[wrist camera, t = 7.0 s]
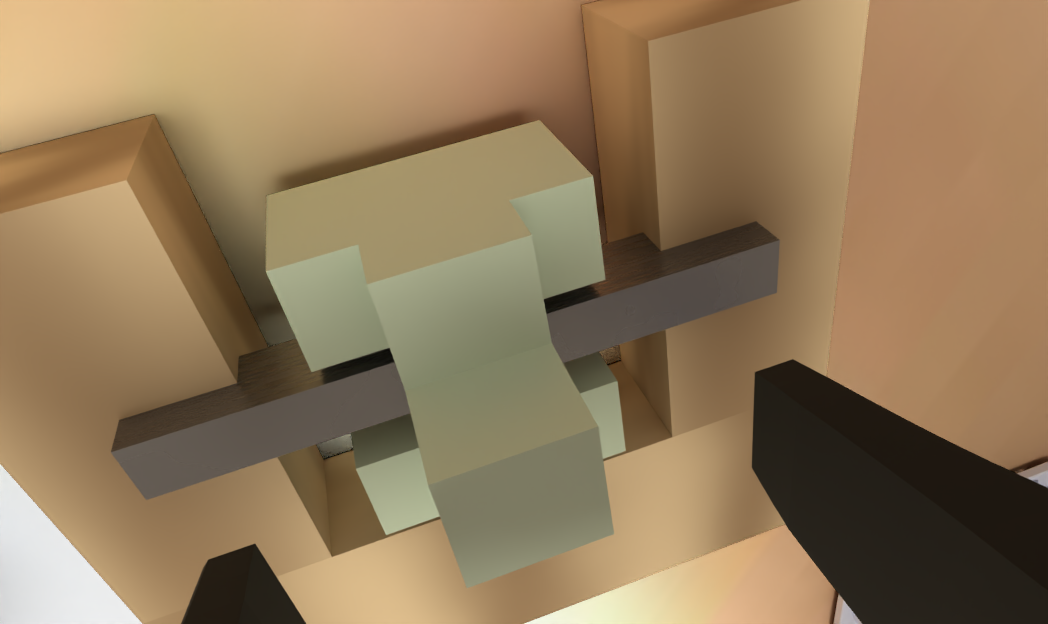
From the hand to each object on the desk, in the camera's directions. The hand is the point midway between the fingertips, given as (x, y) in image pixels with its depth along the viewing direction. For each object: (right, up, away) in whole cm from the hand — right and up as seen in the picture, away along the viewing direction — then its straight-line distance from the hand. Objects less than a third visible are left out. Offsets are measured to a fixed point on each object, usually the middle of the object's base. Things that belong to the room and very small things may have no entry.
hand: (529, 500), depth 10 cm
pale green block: (-2, +3, +5) cm, 6 cm away
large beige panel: (-2, +2, +7) cm, 7 cm away
